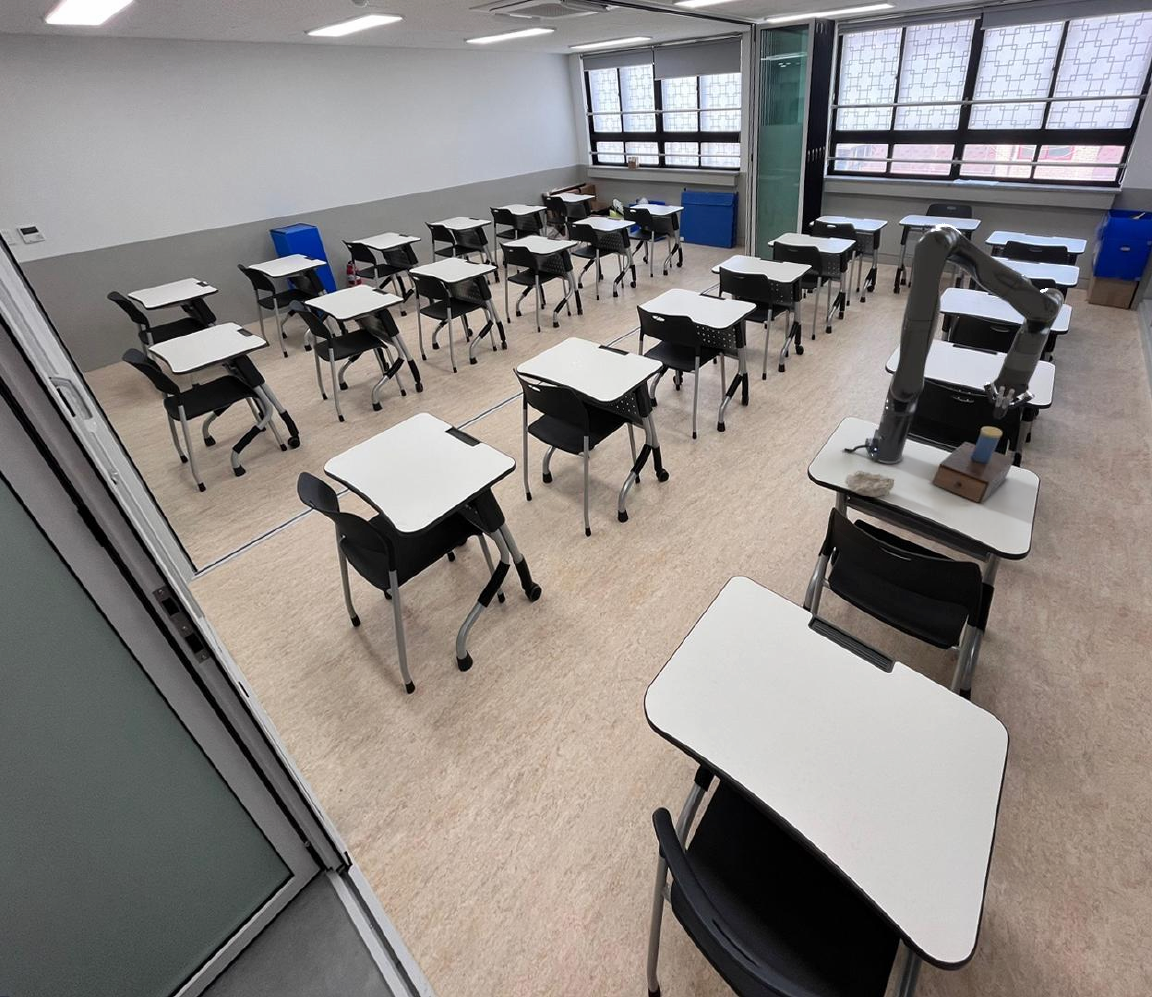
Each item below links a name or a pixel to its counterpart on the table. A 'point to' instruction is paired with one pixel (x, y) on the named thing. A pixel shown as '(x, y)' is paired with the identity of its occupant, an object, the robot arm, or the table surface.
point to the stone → (869, 484)
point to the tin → (986, 444)
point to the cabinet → (978, 467)
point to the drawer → (960, 484)
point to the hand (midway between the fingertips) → (997, 417)
